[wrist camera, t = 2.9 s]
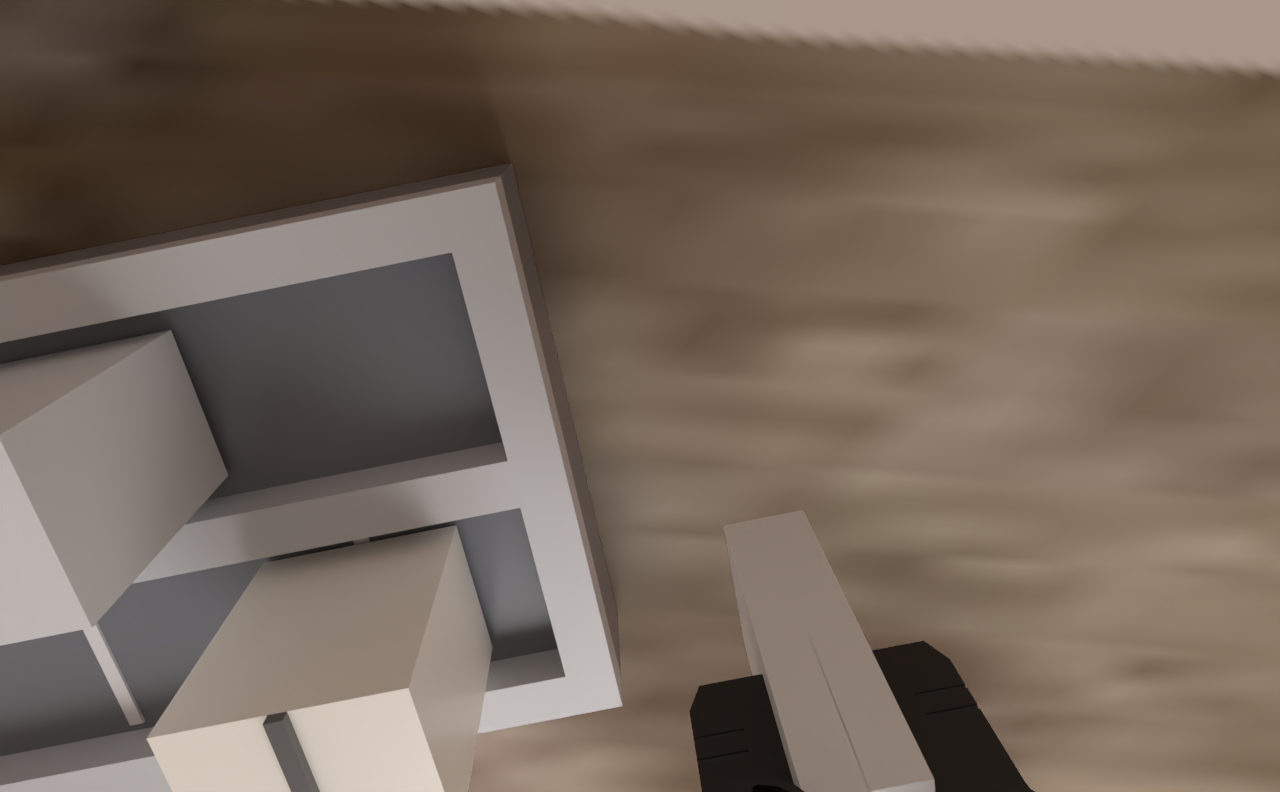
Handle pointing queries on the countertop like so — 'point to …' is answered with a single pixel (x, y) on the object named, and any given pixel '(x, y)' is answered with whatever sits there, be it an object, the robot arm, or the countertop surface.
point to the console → (326, 451)
